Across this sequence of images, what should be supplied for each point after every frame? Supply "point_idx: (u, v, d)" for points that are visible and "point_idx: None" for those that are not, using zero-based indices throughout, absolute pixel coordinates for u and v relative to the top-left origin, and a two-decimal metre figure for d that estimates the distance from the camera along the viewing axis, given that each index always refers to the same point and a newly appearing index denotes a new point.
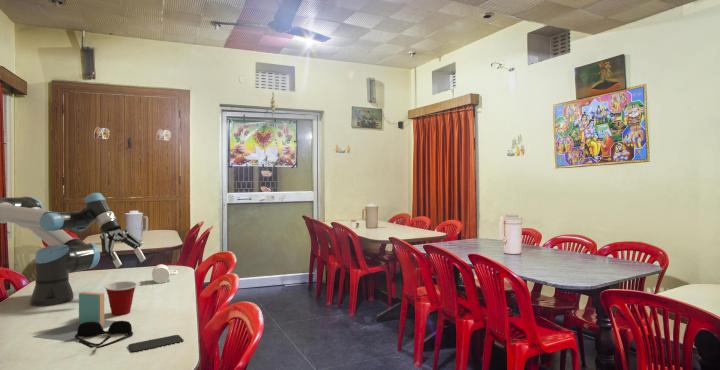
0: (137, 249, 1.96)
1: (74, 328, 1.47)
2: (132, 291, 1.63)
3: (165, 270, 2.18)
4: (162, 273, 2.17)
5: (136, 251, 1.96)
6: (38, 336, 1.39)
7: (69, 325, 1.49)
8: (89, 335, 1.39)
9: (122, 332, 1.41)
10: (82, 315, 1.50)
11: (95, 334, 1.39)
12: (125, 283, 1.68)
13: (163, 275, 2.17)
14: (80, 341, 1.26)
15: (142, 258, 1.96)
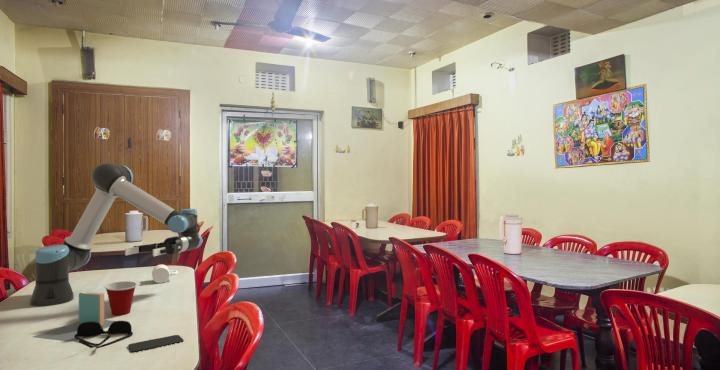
0: (137, 251, 1.80)
1: (74, 328, 1.47)
2: (132, 291, 1.63)
3: (165, 270, 2.18)
4: (162, 273, 2.17)
5: (136, 249, 1.79)
6: (38, 336, 1.39)
7: (69, 325, 1.49)
8: (88, 335, 1.39)
9: (122, 332, 1.41)
10: (82, 315, 1.50)
11: (95, 334, 1.39)
12: (125, 283, 1.68)
13: (163, 275, 2.17)
14: (80, 341, 1.26)
15: (128, 253, 1.75)
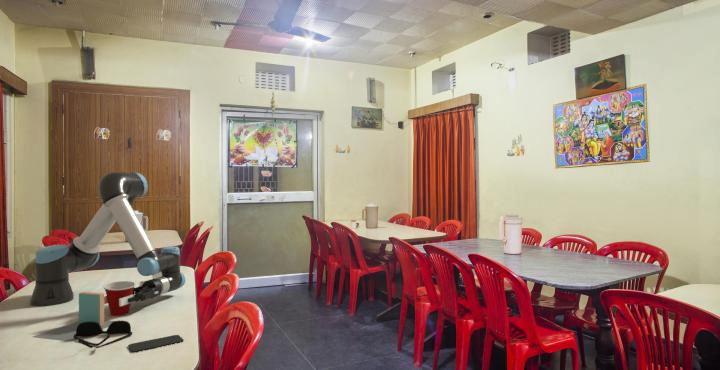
0: None
1: (74, 328, 1.47)
2: (131, 291, 1.63)
3: None
4: None
5: None
6: (38, 336, 1.39)
7: (69, 325, 1.49)
8: (88, 335, 1.39)
9: (121, 332, 1.41)
10: (82, 315, 1.50)
11: (94, 334, 1.39)
12: (124, 283, 1.68)
13: None
14: (79, 341, 1.27)
15: (104, 302, 1.61)
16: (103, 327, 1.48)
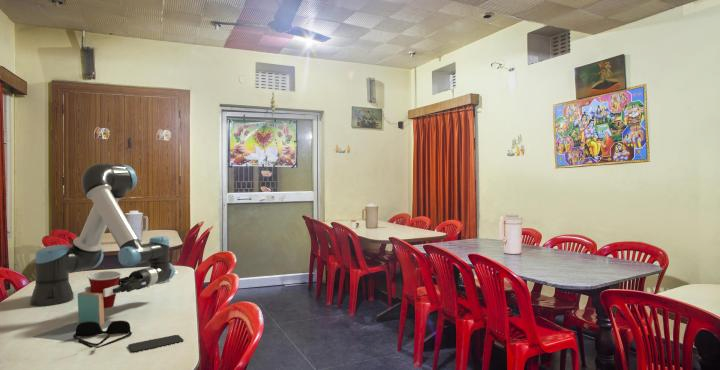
0: None
1: (74, 328, 1.47)
2: (116, 281, 1.56)
3: None
4: None
5: None
6: (38, 336, 1.39)
7: (69, 325, 1.49)
8: (87, 335, 1.39)
9: (121, 332, 1.41)
10: (82, 315, 1.50)
11: (93, 334, 1.39)
12: (109, 273, 1.61)
13: None
14: (79, 341, 1.27)
15: None
16: (103, 327, 1.48)
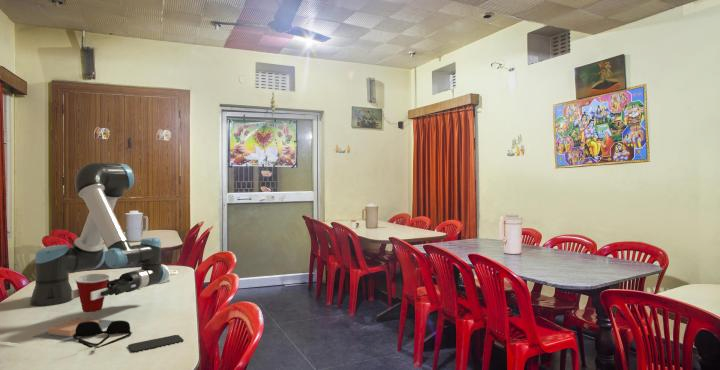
0: None
1: None
2: (104, 284, 1.52)
3: None
4: None
5: None
6: (38, 336, 1.39)
7: None
8: (87, 335, 1.39)
9: (120, 332, 1.41)
10: None
11: (93, 334, 1.39)
12: (98, 275, 1.57)
13: None
14: (79, 341, 1.27)
15: (75, 295, 1.49)
16: (103, 327, 1.48)
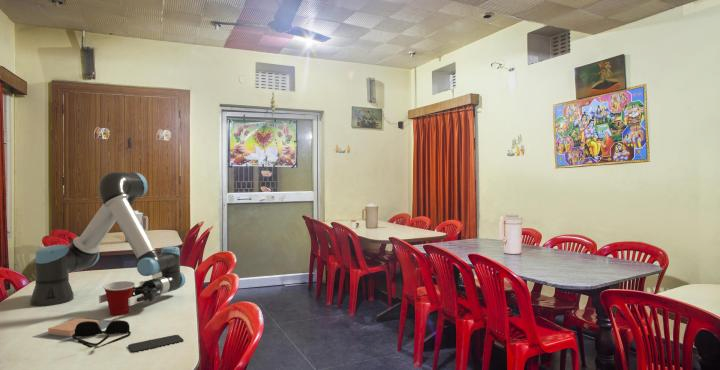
0: None
1: None
2: (130, 291, 1.63)
3: None
4: None
5: None
6: (38, 336, 1.39)
7: None
8: (86, 335, 1.39)
9: (120, 332, 1.41)
10: None
11: (93, 334, 1.39)
12: (124, 283, 1.68)
13: None
14: (79, 341, 1.27)
15: (102, 300, 1.63)
16: (103, 327, 1.48)
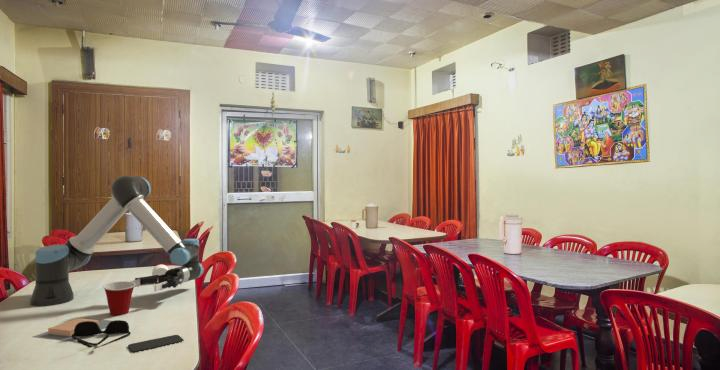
0: (138, 284, 1.80)
1: None
2: (130, 291, 1.63)
3: (165, 270, 2.18)
4: (162, 273, 2.17)
5: (137, 282, 1.80)
6: (38, 336, 1.39)
7: None
8: (86, 335, 1.39)
9: (119, 332, 1.42)
10: None
11: (92, 334, 1.39)
12: (124, 283, 1.68)
13: None
14: (78, 341, 1.27)
15: None
16: (103, 327, 1.48)
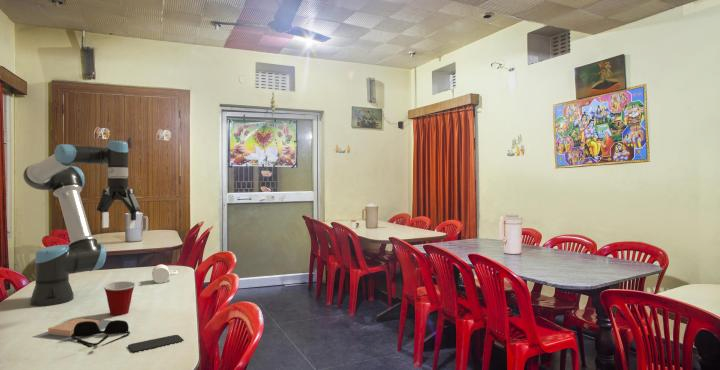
0: None
1: None
2: (130, 291, 1.63)
3: (165, 270, 2.18)
4: (162, 273, 2.17)
5: None
6: (38, 336, 1.39)
7: None
8: (85, 335, 1.39)
9: (119, 331, 1.42)
10: None
11: (91, 334, 1.39)
12: (124, 283, 1.68)
13: (163, 275, 2.17)
14: (78, 341, 1.27)
15: None
16: (103, 327, 1.48)
